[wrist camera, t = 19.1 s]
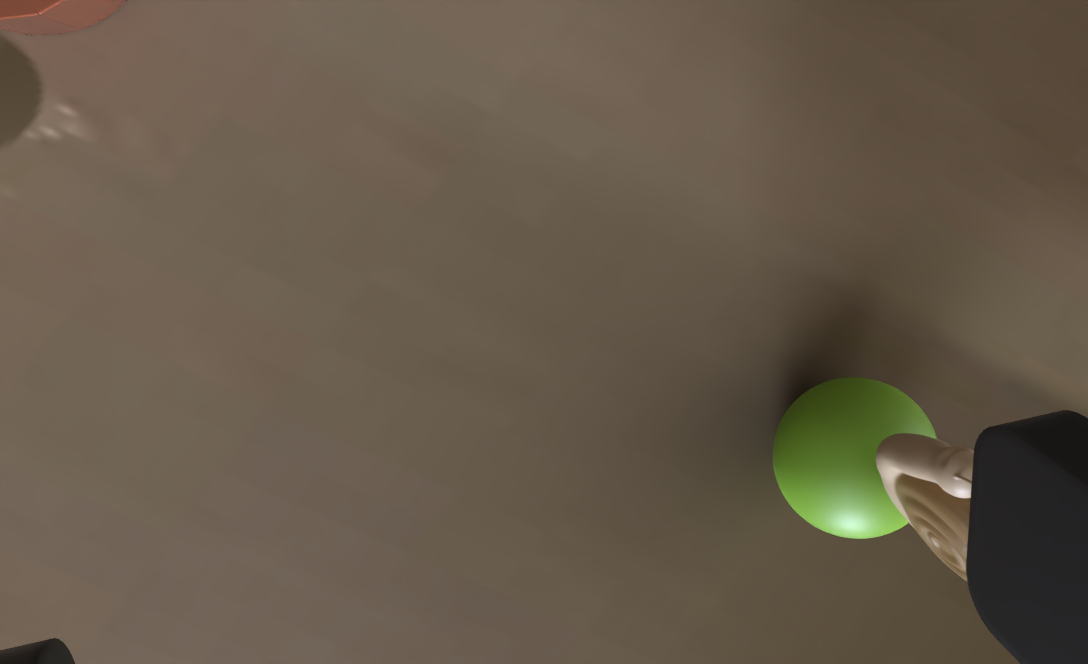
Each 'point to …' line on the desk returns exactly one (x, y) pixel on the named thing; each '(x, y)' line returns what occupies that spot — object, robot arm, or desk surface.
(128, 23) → the desk surface
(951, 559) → the snail figurine
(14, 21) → the terracotta pot
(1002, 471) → the robot arm
